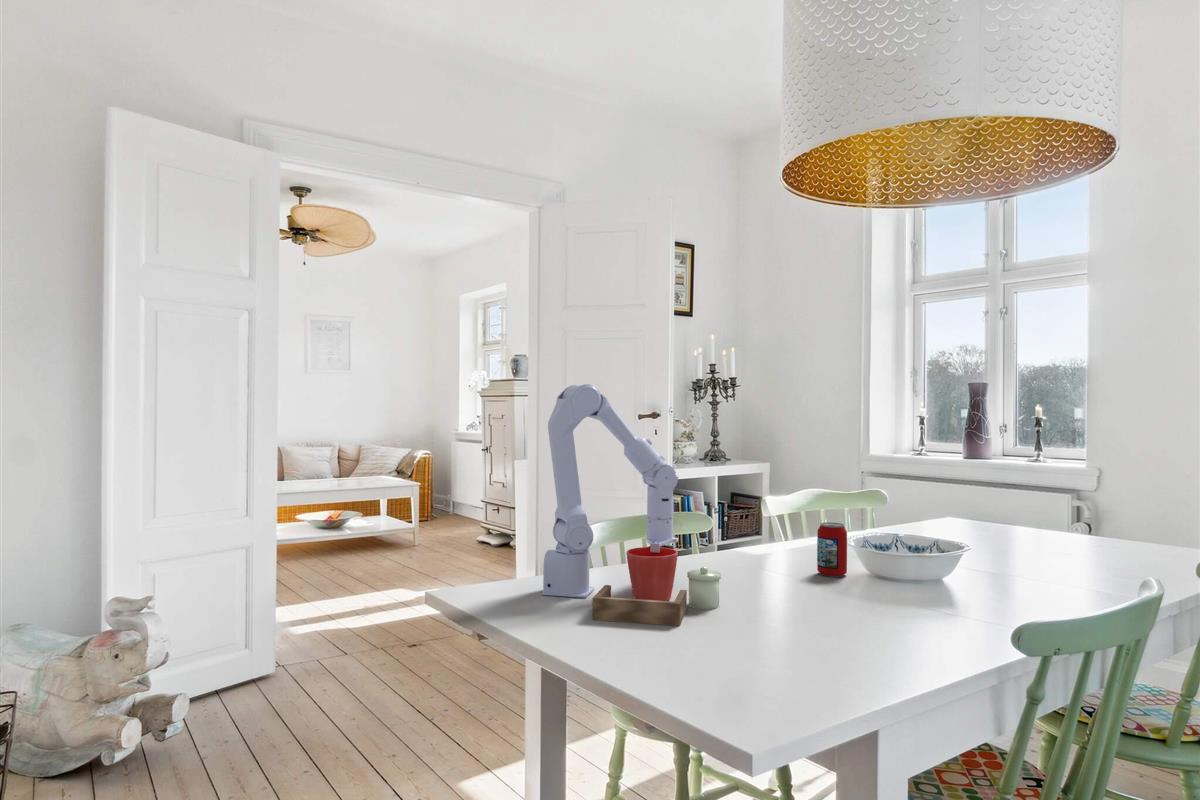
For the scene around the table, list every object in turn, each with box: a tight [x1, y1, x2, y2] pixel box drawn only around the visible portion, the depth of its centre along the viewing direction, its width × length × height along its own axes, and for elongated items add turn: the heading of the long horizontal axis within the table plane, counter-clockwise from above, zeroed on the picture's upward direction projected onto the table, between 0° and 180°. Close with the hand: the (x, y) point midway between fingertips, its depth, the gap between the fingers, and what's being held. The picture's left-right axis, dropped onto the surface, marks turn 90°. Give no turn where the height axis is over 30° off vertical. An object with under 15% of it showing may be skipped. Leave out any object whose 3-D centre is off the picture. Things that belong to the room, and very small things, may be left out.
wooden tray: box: [591, 584, 688, 627], centre depth 143 cm, size 16×11×4 cm, turn 77°
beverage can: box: [816, 521, 848, 578], centre depth 179 cm, size 7×7×12 cm
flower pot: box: [626, 546, 679, 601], centre depth 156 cm, size 11×11×10 cm
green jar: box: [686, 566, 722, 610], centre depth 150 cm, size 7×7×8 cm
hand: (659, 579), depth 166 cm, fingers closed
